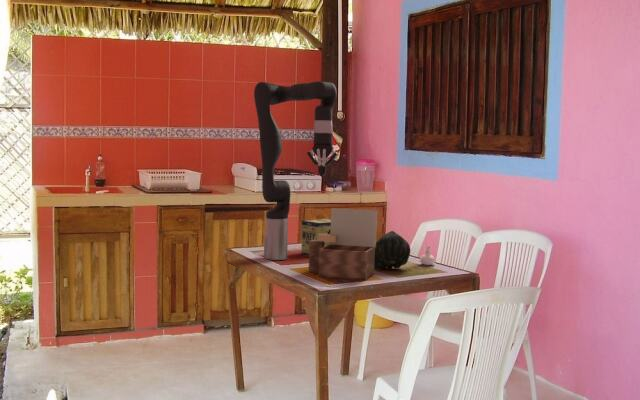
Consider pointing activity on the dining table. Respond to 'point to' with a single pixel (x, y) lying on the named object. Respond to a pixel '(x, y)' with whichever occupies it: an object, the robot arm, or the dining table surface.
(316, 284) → the dining table surface
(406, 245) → the squash
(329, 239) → the latch bolt
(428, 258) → the garlic bulb
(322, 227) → the protein box
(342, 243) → the lid
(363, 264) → the box
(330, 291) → the dining table surface
